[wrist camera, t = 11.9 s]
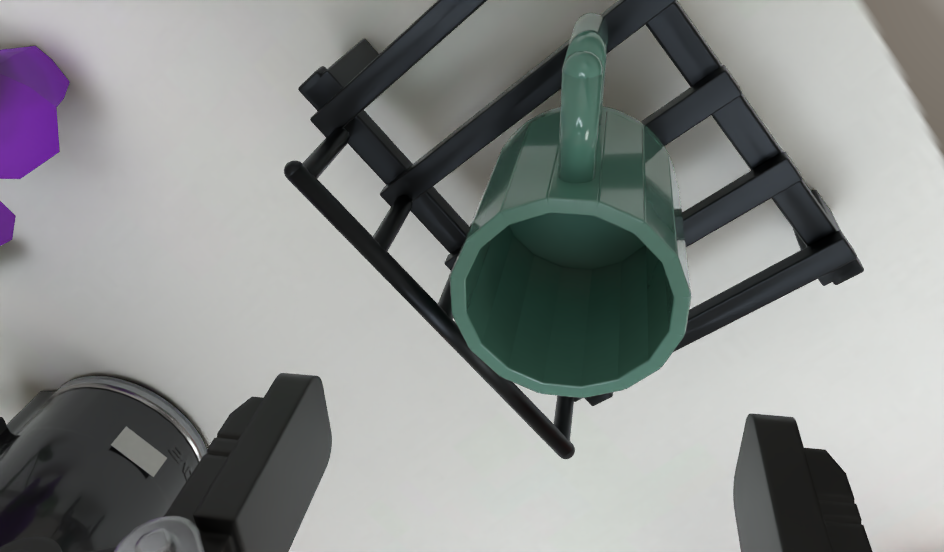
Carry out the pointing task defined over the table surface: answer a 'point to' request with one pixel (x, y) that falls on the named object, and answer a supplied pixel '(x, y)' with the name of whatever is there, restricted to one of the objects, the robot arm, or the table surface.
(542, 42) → the table surface
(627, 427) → the table surface
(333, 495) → the table surface
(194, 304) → the table surface
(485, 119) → the rack
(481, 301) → the green mug
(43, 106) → the flower
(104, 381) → the robot arm
